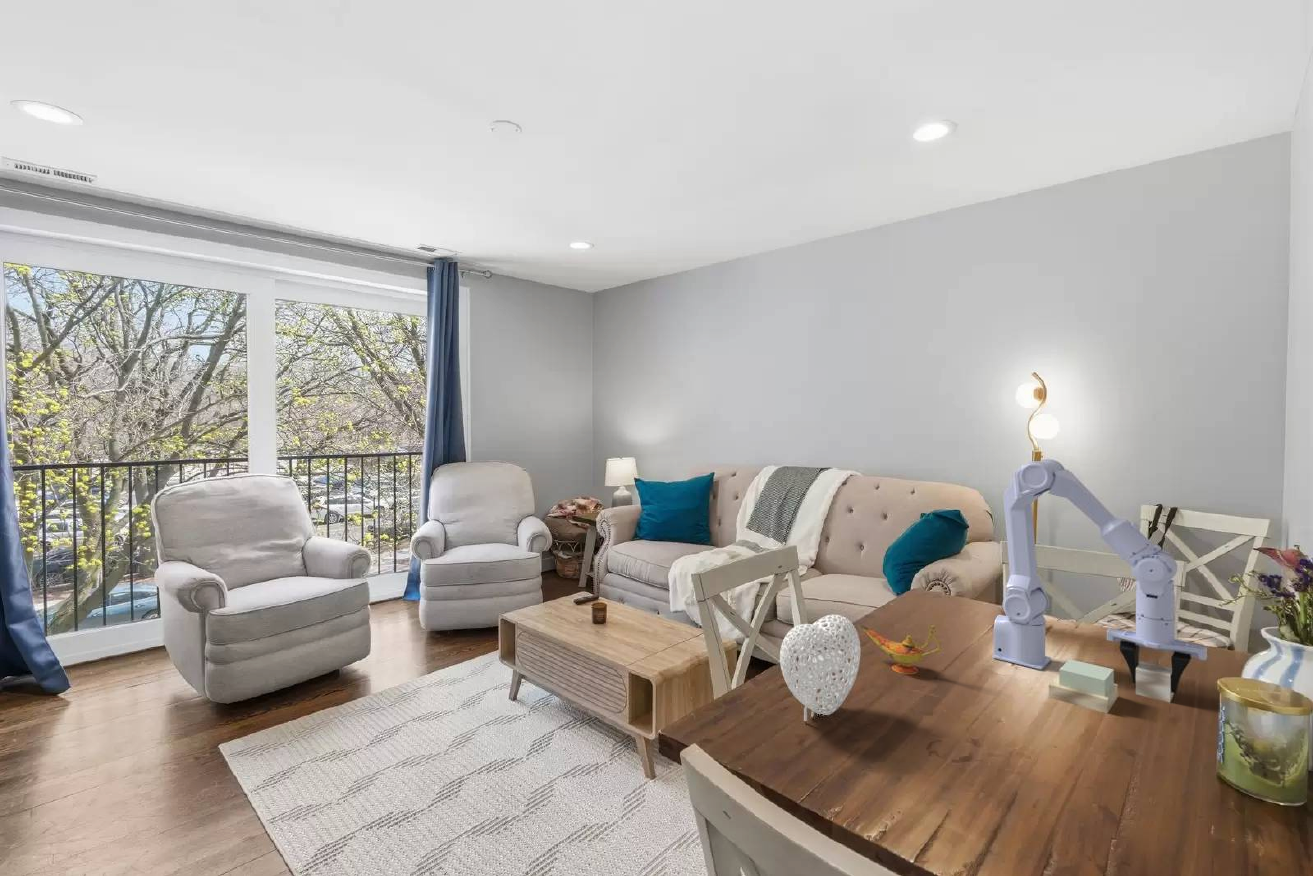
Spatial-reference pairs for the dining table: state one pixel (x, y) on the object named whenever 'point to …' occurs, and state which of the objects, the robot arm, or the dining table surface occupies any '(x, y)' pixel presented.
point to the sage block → (1086, 677)
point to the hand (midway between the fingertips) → (1154, 686)
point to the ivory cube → (1154, 681)
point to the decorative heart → (821, 663)
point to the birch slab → (1083, 696)
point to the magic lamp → (902, 650)
